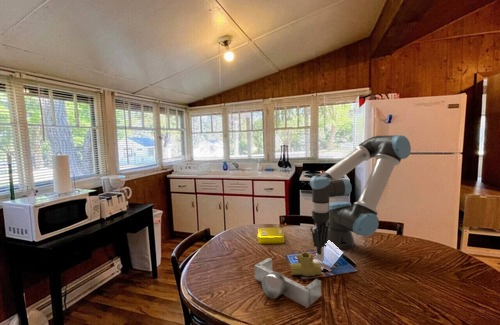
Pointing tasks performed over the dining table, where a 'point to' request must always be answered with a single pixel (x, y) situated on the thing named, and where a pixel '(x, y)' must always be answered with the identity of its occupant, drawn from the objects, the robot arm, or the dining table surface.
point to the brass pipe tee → (305, 265)
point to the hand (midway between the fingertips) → (320, 259)
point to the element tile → (270, 236)
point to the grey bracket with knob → (285, 285)
